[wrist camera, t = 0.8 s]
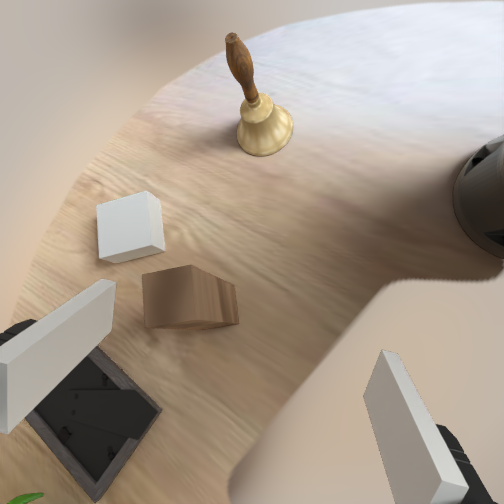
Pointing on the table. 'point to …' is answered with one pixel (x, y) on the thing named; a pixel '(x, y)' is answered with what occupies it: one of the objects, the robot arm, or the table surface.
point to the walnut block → (187, 299)
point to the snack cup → (26, 498)
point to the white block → (130, 228)
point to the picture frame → (94, 421)
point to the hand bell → (256, 107)
